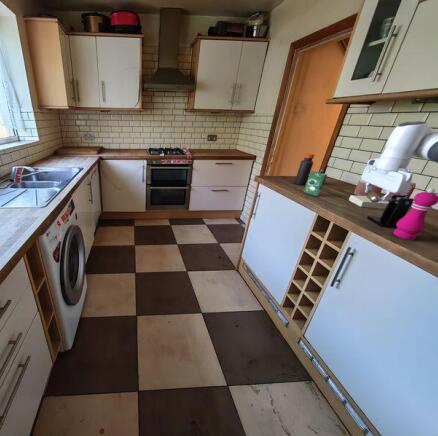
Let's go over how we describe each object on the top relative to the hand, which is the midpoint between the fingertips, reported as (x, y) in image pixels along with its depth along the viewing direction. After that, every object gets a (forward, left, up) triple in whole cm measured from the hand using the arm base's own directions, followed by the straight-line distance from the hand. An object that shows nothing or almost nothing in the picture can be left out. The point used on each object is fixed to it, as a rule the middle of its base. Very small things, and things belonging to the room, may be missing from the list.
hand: (375, 196), depth 98 cm
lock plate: (-18, -25, -12) cm, 33 cm away
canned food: (-28, -43, -12) cm, 53 cm away
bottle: (+3, -58, -12) cm, 59 cm away
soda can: (-33, -28, -12) cm, 45 cm away
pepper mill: (-7, +12, -12) cm, 19 cm away
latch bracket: (-10, 0, -12) cm, 16 cm away
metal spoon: (-5, 0, -2) cm, 6 cm away
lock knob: (-18, -25, -9) cm, 32 cm away
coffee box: (+6, -36, -12) cm, 38 cm away
